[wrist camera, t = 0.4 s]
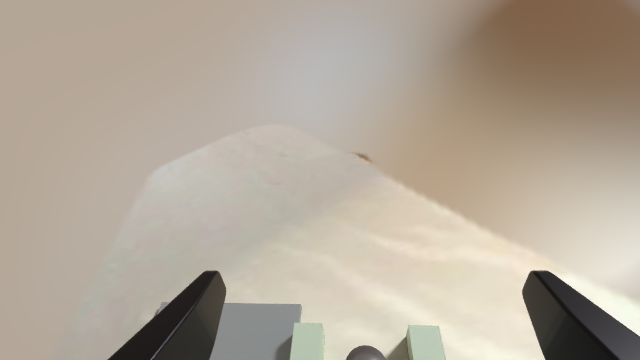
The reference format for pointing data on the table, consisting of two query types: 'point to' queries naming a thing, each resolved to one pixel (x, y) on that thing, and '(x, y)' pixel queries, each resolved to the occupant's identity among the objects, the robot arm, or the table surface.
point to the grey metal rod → (365, 354)
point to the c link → (420, 339)
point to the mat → (254, 331)
